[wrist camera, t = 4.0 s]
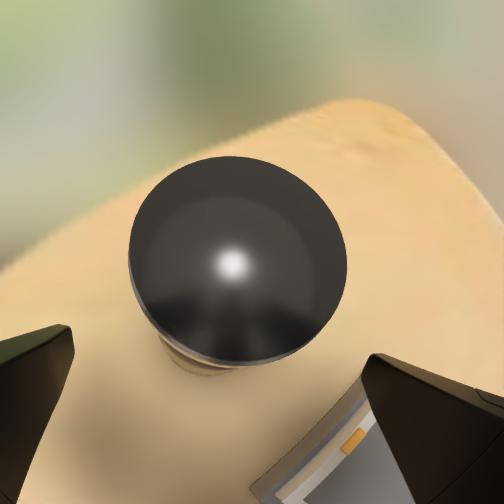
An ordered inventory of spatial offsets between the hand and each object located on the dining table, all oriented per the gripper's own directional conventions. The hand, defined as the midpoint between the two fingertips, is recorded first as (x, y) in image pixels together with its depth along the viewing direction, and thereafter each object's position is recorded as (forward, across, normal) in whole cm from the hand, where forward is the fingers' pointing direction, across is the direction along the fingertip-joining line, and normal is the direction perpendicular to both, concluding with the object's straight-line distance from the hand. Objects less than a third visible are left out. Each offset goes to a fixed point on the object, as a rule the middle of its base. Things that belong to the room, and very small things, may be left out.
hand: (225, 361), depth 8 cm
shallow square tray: (+3, +11, -13) cm, 17 cm away
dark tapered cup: (+10, 0, -6) cm, 11 cm away
